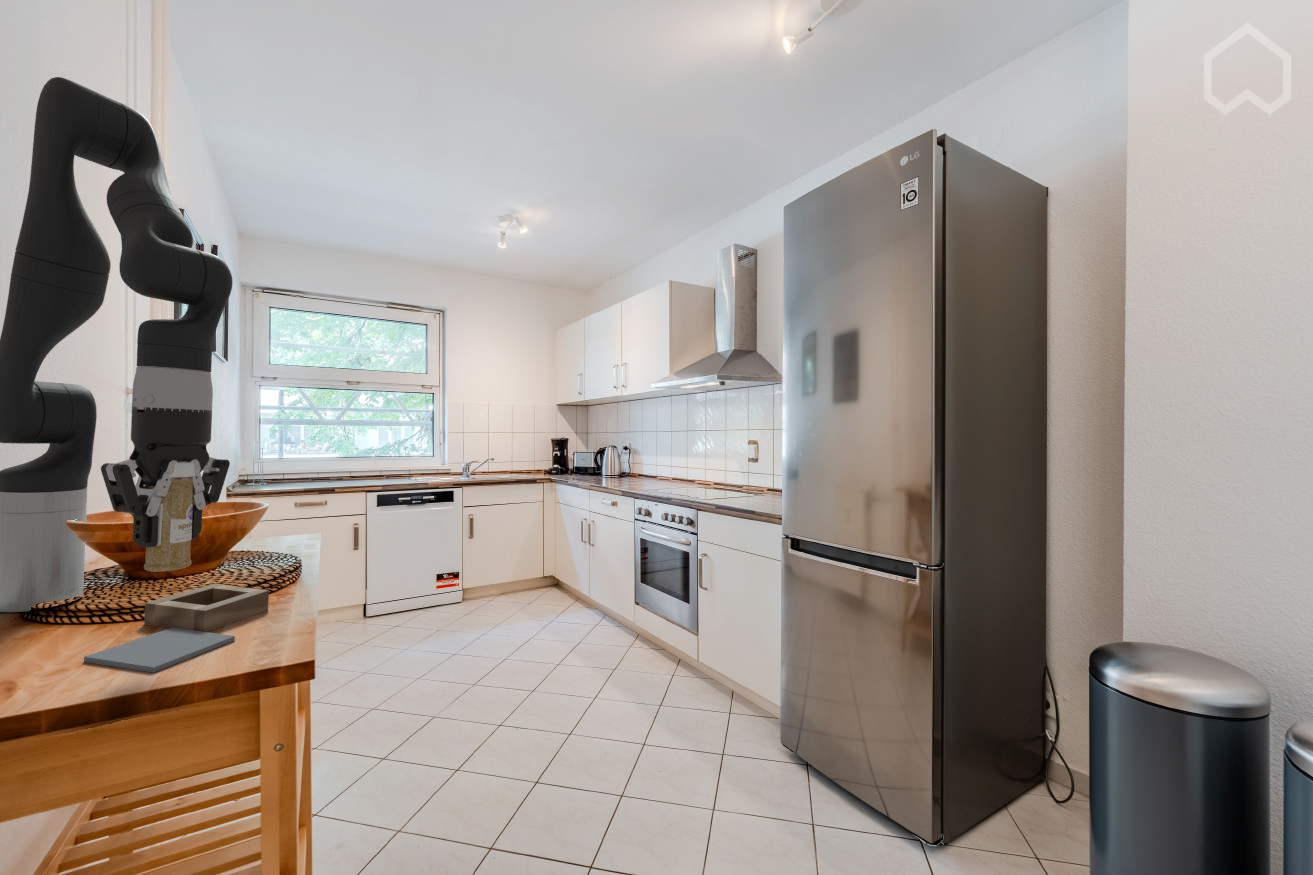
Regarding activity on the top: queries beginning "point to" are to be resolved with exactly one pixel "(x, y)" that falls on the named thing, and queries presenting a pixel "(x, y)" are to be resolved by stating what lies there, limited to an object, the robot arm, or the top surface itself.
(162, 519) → the sprinkles bottle
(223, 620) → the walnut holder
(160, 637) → the slate mat
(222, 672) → the top surface
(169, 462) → the robot arm
